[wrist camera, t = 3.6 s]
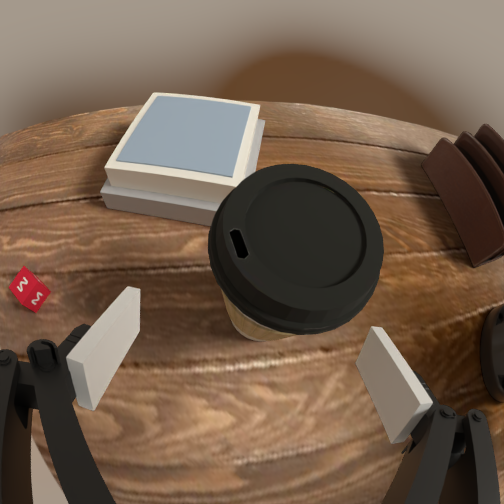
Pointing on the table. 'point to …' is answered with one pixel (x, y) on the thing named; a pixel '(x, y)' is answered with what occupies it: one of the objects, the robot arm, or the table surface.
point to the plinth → (183, 157)
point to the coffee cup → (294, 252)
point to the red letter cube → (29, 289)
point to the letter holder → (472, 189)
